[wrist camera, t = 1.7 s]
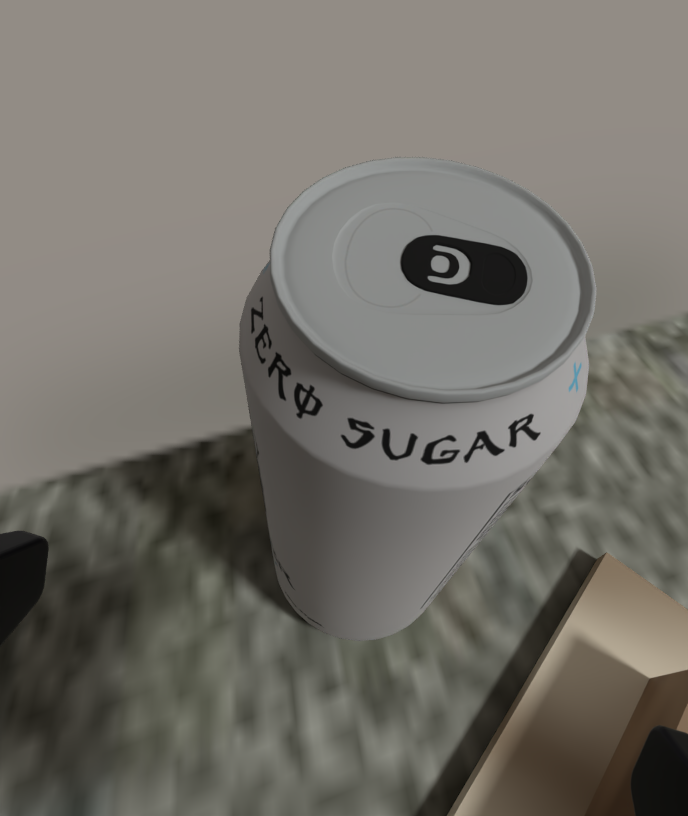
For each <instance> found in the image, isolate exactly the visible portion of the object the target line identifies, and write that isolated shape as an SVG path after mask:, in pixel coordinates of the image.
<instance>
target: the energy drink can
mask: <svg viewBox="0 0 688 816" xmlns="http://www.w3.org/2000/svg"><path fill="white" fill-rule="evenodd" d="M595 299H596V284H595V279H594V273H593V267H592V264H591V262H590V259H589V257H588V255H587V252H586V250H585V248H584V245H583V243H582V242H581V241H580V239H579V238H578V236H577V235H576V234H575V232H574V231H573V229H572V228H571V227H570V225H569V224H568V223H567V222H566V221H565V220H564V219H563V218H562V217H561V216H560V215H559V214H558V213H557V212H556V211H555V210H554V209H553V208H552V207H551V206H550V205H549V204H547V203H546V202H544V201H543V200H542V199H540V198H539V197H538V196H536V195H535V194H533V193H532V192H531V191H529V190H528V189H526V188H524V187H522V186H520V185H518V184H516V183H515V182H513V181H511V180H509V179H507V178H505V177H503V176H500V175H498V174H495V173H492V172H490V171H487V170H484V169H482V168H479V167H475V166H471V165H467V164H463V163H459V162H455V161H450V160H442V159H434V158H425V157H395V158H388V159H380V160H372V161H368V162H364V163H360V164H356V165H353V166H349V167H346V168H343V169H341V170H339V171H337V172H334V173H332V174H330V175H328V176H326V177H324V178H322V179H320V180H319V181H317V182H316V183H314V184H313V185H312V186H310V187H309V188H307V189H306V190H305V191H303V192H302V193H301V194H300V195H299V196H298V197H297V198H296V199H295V200H294V201H293V203H292V204H291V205H290V206H289V207H288V208H287V209H286V211H285V213H284V214H283V216H282V218H281V220H280V221H279V223H278V225H277V227H276V228H275V232H274V236H273V240H272V244H271V248H270V260H269V262H268V263H267V264H266V266H265V267H264V269H263V270H262V271H261V273H260V275H259V277H258V278H257V280H256V282H255V284H254V286H253V287H252V289H251V291H250V293H249V295H248V296H247V299H246V302H245V306H244V310H243V313H242V317H241V321H240V341H239V343H240V344H239V352H240V358H241V365H242V370H243V377H244V383H245V388H246V395H247V401H248V407H249V413H250V419H251V425H252V431H253V437H254V443H255V450H256V456H257V462H258V468H259V474H260V480H261V486H262V492H263V498H264V504H265V510H266V516H267V522H268V529H269V535H270V541H271V547H272V553H273V559H274V565H275V569H276V574H277V578H278V582H279V584H280V586H281V589H282V591H283V593H284V595H285V597H286V599H287V600H288V602H289V603H290V604H291V606H292V607H293V609H294V610H295V611H296V612H297V613H298V614H299V615H300V616H301V617H302V618H303V619H304V620H305V621H307V622H308V623H309V624H310V625H312V626H314V627H315V628H317V629H319V630H320V631H322V632H324V633H326V634H329V635H332V636H335V637H338V638H341V639H348V640H356V641H363V640H375V639H379V638H383V637H386V636H389V635H392V634H395V633H396V632H398V631H400V630H402V629H404V628H405V627H407V626H409V625H410V624H411V623H412V622H413V621H414V620H416V619H417V618H418V617H419V616H420V615H421V614H422V613H423V612H424V610H425V609H426V608H427V607H428V605H429V604H430V603H431V602H432V601H433V599H434V598H435V597H436V596H437V594H438V593H439V592H440V591H441V589H442V588H443V587H444V586H445V584H446V583H447V582H448V581H449V580H450V578H451V577H452V576H453V575H454V573H455V572H456V571H457V570H458V568H459V567H460V566H461V565H462V563H463V562H464V561H465V560H466V558H467V557H468V556H469V555H470V554H471V552H472V551H473V550H474V549H475V547H476V546H477V545H478V544H479V542H480V541H481V540H482V539H483V537H484V536H485V535H486V534H487V533H488V531H489V530H490V529H491V528H492V526H493V525H494V524H495V523H496V521H497V520H498V519H499V518H500V516H501V515H502V514H503V513H504V511H505V510H506V509H507V508H508V507H509V505H510V504H511V503H512V502H513V500H514V499H515V498H516V497H517V495H518V494H519V493H520V492H521V490H522V489H523V488H524V487H525V486H526V484H527V483H528V482H529V481H530V479H531V478H532V477H533V476H534V474H535V473H536V472H537V471H538V469H539V468H540V467H541V466H542V464H543V463H544V462H545V461H546V460H547V458H548V457H549V456H550V455H551V453H552V452H553V451H554V450H555V448H556V447H557V446H558V445H559V443H560V442H561V441H562V439H563V438H564V436H565V435H566V434H567V432H568V431H569V430H570V428H571V427H572V425H573V424H574V423H575V421H576V419H577V416H578V414H579V411H580V409H581V406H582V403H583V401H584V398H585V395H586V389H587V380H588V370H589V360H588V353H587V346H586V339H585V334H586V332H587V330H588V327H589V325H590V322H591V320H592V317H593V315H594V309H595Z"/></svg>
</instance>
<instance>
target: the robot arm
mask: <svg viewBox="0 0 688 816" xmlns="http://www.w3.org/2000/svg"><path fill="white" fill-rule="evenodd" d="M47 558H48V542H47V540H46V539H45V538H44V537H41V536H38V535H35V534H32V533H28V532H25V531H14V532H9V533H3V534H0V646H1V645H2V644H3V643H4V641H5V640H6V639H7V638H8V637H9V635H10V634H11V633H12V632H13V631H14V629H15V628H16V627H17V626H18V624H19V623H20V622H21V621H22V620H23V618H24V617H25V616H26V615H27V614H28V612H29V611H30V610H31V609H32V608H33V606H34V605H35V604H36V603H37V601H38V600H39V598H40V596H41V594H42V591H43V588H44V583H45V575H46V566H47ZM630 788H631V796H632V801H633V806H634V812H635V816H688V734H687V733H685V732H682V731H679V730H675V729H672V728H669V727H665V726H662V725H658V726H655V727H653V728H652V729H651V731H650V732H649V734H648V736H647V738H646V741H645V743H644V745H643V748H642V750H641V752H640V754H639V757H638V759H637V761H636V763H635V766H634V768H633V771H632V774H631V781H630Z"/></svg>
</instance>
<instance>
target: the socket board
mask: <svg viewBox="0 0 688 816" xmlns="http://www.w3.org/2000/svg"><path fill="white" fill-rule="evenodd" d="M658 725H662V726H665V727H669V728H672V729H675V730H679V731H682V732H685V733H687V734H688V609H686V608H685V607H683V606H682V605H681V604H679V603H678V602H676V601H675V600H673V599H672V598H671V597H669V596H668V595H666V594H665V593H664V592H662V591H661V590H659V589H658V588H656V587H655V586H654V585H652V584H651V583H649V582H648V581H647V580H645V579H644V578H642V577H641V576H639V575H638V574H637V573H635V572H634V571H632V570H631V569H630V568H628V567H627V566H625V565H624V564H623V563H621V562H620V561H618V560H617V559H615V558H614V557H613V556H611V555H610V554H608V553H605V554H604V555H602V556H601V557H599V558H598V559H597V560H596V562H595V564H594V565H593V567H592V569H591V571H590V572H589V574H588V576H587V577H586V579H585V581H584V582H583V584H582V586H581V588H580V589H579V591H578V593H577V594H576V596H575V598H574V600H573V601H572V603H571V605H570V606H569V608H568V610H567V611H566V613H565V615H564V617H563V618H562V620H561V622H560V623H559V625H558V627H557V629H556V630H555V632H554V634H553V635H552V637H551V639H550V640H549V642H548V644H547V646H546V647H545V649H544V651H543V652H542V654H541V656H540V658H539V659H538V661H537V663H536V664H535V666H534V668H533V669H532V671H531V673H530V675H529V676H528V678H527V680H526V681H525V683H524V685H523V687H522V688H521V690H520V692H519V693H518V695H517V697H516V698H515V700H514V702H513V704H512V705H511V707H510V709H509V710H508V712H507V714H506V716H505V717H504V719H503V721H502V722H501V724H500V726H499V727H498V729H497V731H496V733H495V734H494V736H493V738H492V739H491V741H490V743H489V745H488V746H487V748H486V750H485V751H484V753H483V755H482V756H481V758H480V760H479V762H478V763H477V765H476V767H475V768H474V770H473V772H472V773H471V775H470V777H469V779H468V780H467V782H466V784H465V785H464V787H463V789H462V791H461V792H460V794H459V796H458V797H457V799H456V801H455V802H454V804H453V806H452V808H451V809H450V811H449V813H448V814H447V816H635V812H634V806H633V801H632V796H631V788H630V781H631V774H632V771H633V768H634V766H635V763H636V761H637V759H638V757H639V754H640V752H641V750H642V748H643V745H644V743H645V741H646V738H647V736H648V734H649V732H650V731H651V729H652V728H653V727H655V726H658Z"/></svg>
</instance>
